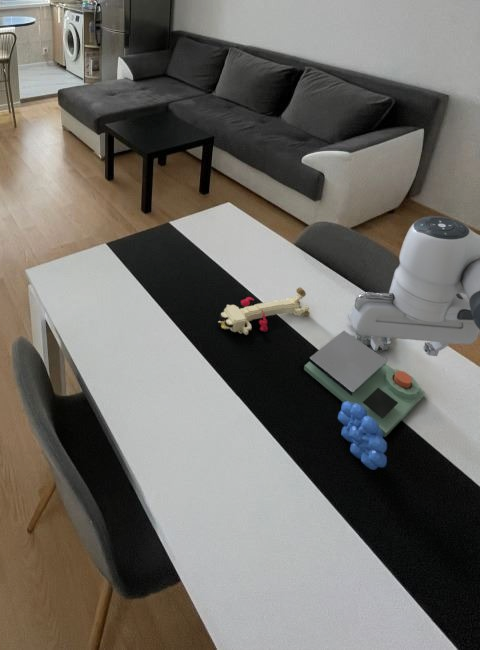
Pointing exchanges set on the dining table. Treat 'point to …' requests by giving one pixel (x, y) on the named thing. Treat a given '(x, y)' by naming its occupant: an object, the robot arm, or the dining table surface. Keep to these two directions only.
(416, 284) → the robot arm
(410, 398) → the scale
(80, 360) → the dining table surface
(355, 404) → the grapes
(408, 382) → the button
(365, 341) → the egg carton
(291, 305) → the beige blocky toy
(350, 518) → the dining table surface
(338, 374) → the scale pan
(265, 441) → the dining table surface
